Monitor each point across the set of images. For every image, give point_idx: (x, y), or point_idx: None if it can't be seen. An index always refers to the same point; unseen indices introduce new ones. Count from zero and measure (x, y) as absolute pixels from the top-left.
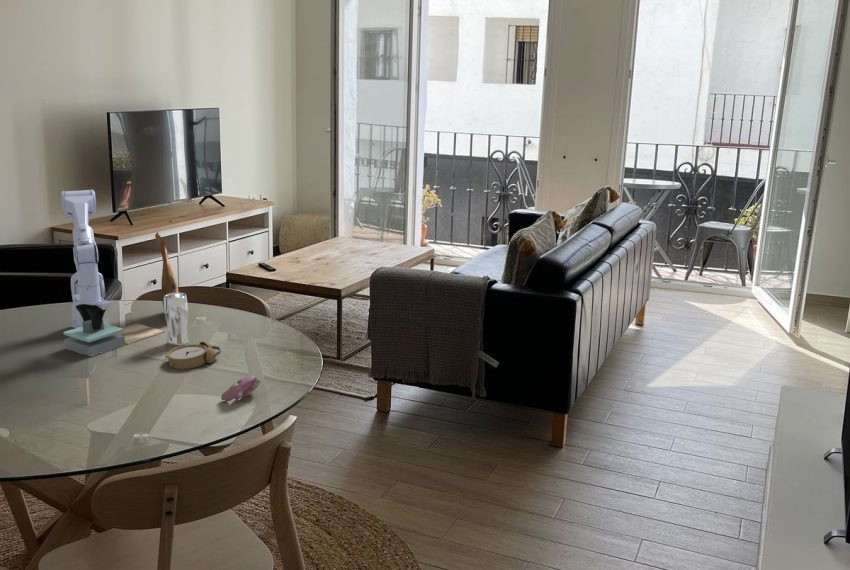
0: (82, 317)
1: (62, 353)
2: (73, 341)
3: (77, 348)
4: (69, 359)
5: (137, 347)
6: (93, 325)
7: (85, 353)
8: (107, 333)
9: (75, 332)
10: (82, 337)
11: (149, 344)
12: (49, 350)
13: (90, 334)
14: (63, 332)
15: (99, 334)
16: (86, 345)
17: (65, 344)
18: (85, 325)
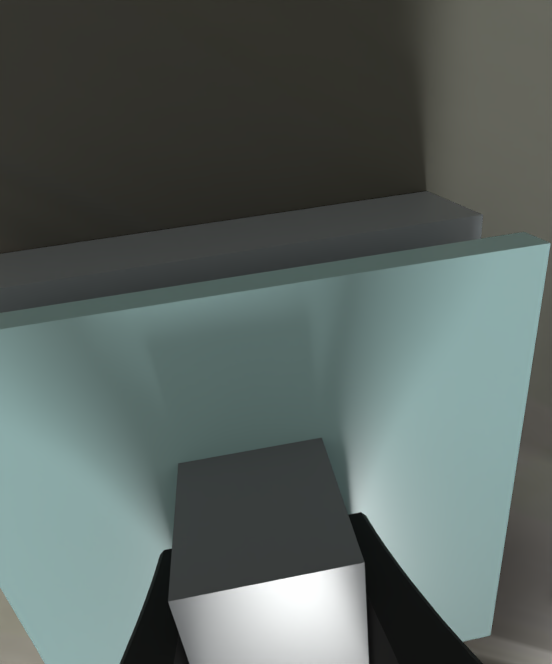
0: (450, 655)
1: (328, 94)
2: (316, 258)
3: (211, 236)
4: (62, 39)
5: (3, 598)
6: (145, 616)
7: (67, 249)
8: (28, 599)
9: (382, 357)
10: (71, 334)
11: (17, 659)
12: (534, 38)
13: (132, 460)
14: (545, 241)
15: (48, 532)
16: (40, 304)
17: (438, 202)
18: (266, 540)
